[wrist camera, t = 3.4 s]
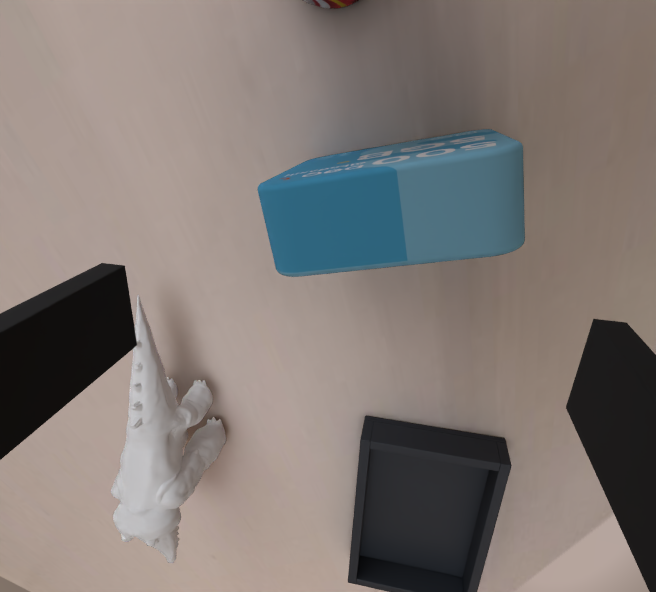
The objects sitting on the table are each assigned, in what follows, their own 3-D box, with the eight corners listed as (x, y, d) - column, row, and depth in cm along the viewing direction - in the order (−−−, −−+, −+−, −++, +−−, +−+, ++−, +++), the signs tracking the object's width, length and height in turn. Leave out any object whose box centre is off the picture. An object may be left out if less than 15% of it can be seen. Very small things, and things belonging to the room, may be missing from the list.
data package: (490, 127, 28) (530, 143, 17) (493, 198, 30) (531, 254, 19) (308, 158, 31) (245, 189, 20) (320, 221, 33) (268, 281, 22)
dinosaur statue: (181, 486, 47) (115, 589, 37) (131, 272, 38) (25, 333, 28) (242, 494, 46) (190, 604, 36) (206, 274, 36) (123, 339, 26)
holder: (505, 438, 37) (511, 465, 34) (469, 578, 44) (472, 611, 41) (365, 415, 39) (360, 439, 36) (352, 553, 46) (347, 582, 43)
